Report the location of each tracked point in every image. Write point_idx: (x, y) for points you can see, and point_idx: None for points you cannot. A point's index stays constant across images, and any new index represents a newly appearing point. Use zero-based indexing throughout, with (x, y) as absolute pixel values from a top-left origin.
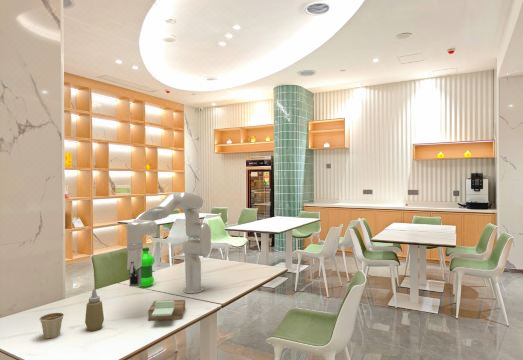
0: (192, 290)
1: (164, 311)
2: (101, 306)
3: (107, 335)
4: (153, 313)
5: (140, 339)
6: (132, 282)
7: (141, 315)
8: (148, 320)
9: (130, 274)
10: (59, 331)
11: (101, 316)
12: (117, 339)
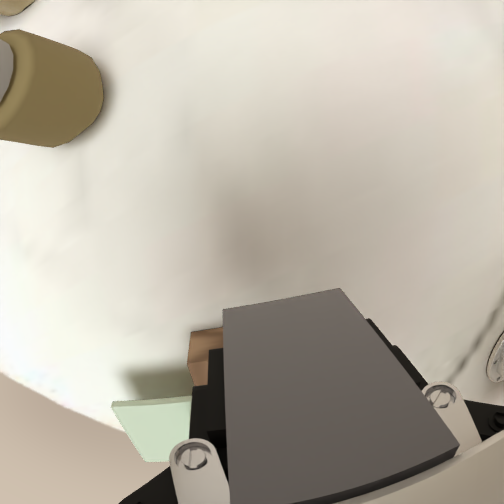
0: (499, 361)
1: (161, 440)
2: (8, 137)
3: (18, 218)
4: (125, 410)
5: (31, 359)
6: (196, 389)
7: (263, 268)
8: (191, 333)
9: (230, 446)
10: (11, 9)
11: (34, 144)
12: (4, 280)
